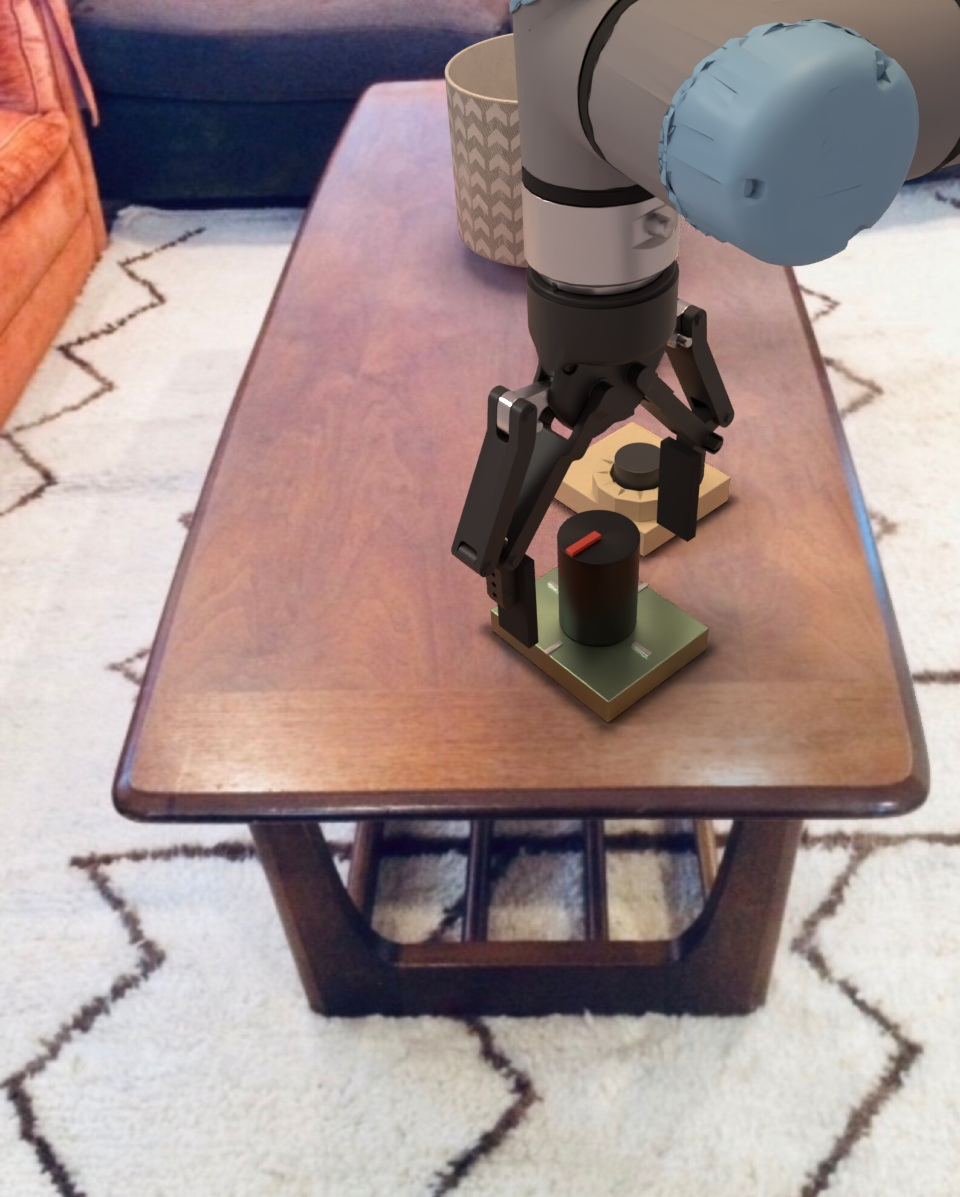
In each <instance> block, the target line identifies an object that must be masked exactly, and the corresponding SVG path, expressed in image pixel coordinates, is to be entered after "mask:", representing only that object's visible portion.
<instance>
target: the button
mask: <svg viewBox="0 0 960 1197" xmlns="http://www.w3.org/2000/svg"><path fill="white" fill-rule="evenodd" d="M659 461H660V448H659V447H657V446H655V445H653V444H649V443H642V442H638V443H631V444H627V445H625V446H623V447H621V448H620V449H619V450H618V451H617V452H616V454H615V457H614V479H615V481H616V483H617V484H618V485H619V486H621V487H622V488H624V489H628V490H634V491H646V490H652V489H656V488H657V487H658V482H659Z"/></svg>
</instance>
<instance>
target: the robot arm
mask: <svg viewBox="0 0 960 1197" xmlns="http://www.w3.org/2000/svg"><path fill="white" fill-rule="evenodd" d="M508 5H509V6H508V8H509V9H508V10H509V14H510V15H512V33H514V49H515V66H516V82H517V99H518V115H519V132H520V148H521V161H522V162H521V164H522V180H521V182H522V209H523V237H524V257H525V259H526V260H527V262H528V264H529V266H528V268H526V270H525V289H526V309H527V310H526V311H527V329H528V332H529V336H530V338H531V340H532V343H533V346H534V349H535V351H536V354H537V358H538V361H537V368H536V371H535V374H534V377H533V380H532V383H530V384H529V385H526V386H524V387H520V388H518V389H516V390H514V391H513V390H510V389H509V388H507V387H506V386H504V385H502V384H500V385H495V386H494V387H493V388H492V389H491V390H490V391H489V394H488V396H487V409H486V410H487V412H486V414H487V415H486V416H487V417H486V423H487V424H486V431H485V435H484V437H483V442H482V445H481V448H480V452H479V454H478V458H477V461H476V465H475V467H474V471H473V475H472V478H471V481H470V484H469V488H468V491H467V494H466V498H465V500H464V505H463V508H462V511H461V515H460V517H459V521H458V524H457V528H456V531H455V534H454V538H453V540H452V544H451V548H450V552H451V555H452V556H454V557H455V558H456V559H458V560H459V561H460V562H461V563H463V564H464V565H465V566H467V567H468V568H469V569H470V570H472V572H474V573H476V574H477V575H479V576H480V577H481V578H485V583H486V594H487V596H488V597H489V598H490V599H491V600H492V601H493V602H495V603H496V606H497V607H498V618H499V626H500V627H502V628H503V629H504V630H505V631H507V632H508V633H509V634H511V635H512V636H513V637H514V638H516V639H517V640H518V641H520V642H521V643H522V644H523V645H525V646H526V647H527V648H529V649H530V648H531V647H533V646H534V645H536V644H537V643H539V641H538V621H537V602H536V582H535V580H536V566H535V559H534V558H532V557H531V556H529V555H528V554H526V553H527V551H528V549H529V547H530V545H531V543H532V542H533V539H534V537H535V535H536V533H537V532H538V530H539V527H540V526H541V524H542V522H543V520H544V518H545V516H546V515H547V512H548V510H549V508H550V506H551V504H552V502H553V501H554V499H555V498H554V497H555V495H556V493H557V491H558V489H559V487H560V485H561V483H562V481H563V479H564V477H565V475H566V473H567V471H568V469H569V467H570V465H571V464H572V462H573V461H576V460H580V459H581V458H583V456H584V455H585V453H586V451H587V449H588V447H590V446H591V443H592V442H593V440H594V439H595V438H597V437H598V436H600V435H602V434H604V433H605V432H606V431H607V430H608V429H610V427H612V426H613V425H614V424H617V423H620V422H624V421H627V419H630V418H631V417H633V416H635V410H636V409H637V408H638V407H639V406H641V407H643V409H644V410H646V411H647V412H648V413H649V414H650V415H651V416H653V417H654V418H655V419H656V420H657V421H659V423H660V424H662V425H663V426H664V427H665V429H667V430H668V431H669V432H670V433H672V434H674V435H675V436H676V437H675V438H673V437H672V436H670V435H669V436H666V437H664V438H662V439H663V440H662V441H660V461H659V482H658V502H657V522H656V523H657V524H659V525H661V526H662V527H664V528H666V529H667V530H669V531H670V532H672V533H674V534H675V536H677V537H679V538H680V539H682V540H683V541H685V542H687V543H688V542H690V541H691V540H693V539H694V538H696V535H697V523H698V521H697V512H698V500H699V488H700V484H701V483H702V480H703V477H704V468H705V464H704V463H706V457H707V456H706V455H707V453H709V454H711V455H716V454H717V453H719V452H720V450H721V449H722V447H723V445H724V442H725V441H724V440H725V439H724V437H723V436H722V435H720V434H718V433H716V432H715V431H716V430H717V429H718V428H719V427H721V428H723V429H726V428H728V427H729V426H730V425H731V424H732V422H733V420H734V419H735V414H736V413H735V410H734V407H733V405H732V401H731V399H730V397H729V395H728V391H727V389H726V386H725V383H724V381H723V378H722V375H721V373H720V371H719V368H718V366H717V363H716V360H715V358H714V356H713V352H712V349H711V347H710V345H709V342H708V313H707V310H705V309H703V308H701V307H699V306H697V305H694V304H692V303H690V302H688V301H687V300H686V301H685V300H683V299H681V298H679V285H680V284H679V283H680V266H679V263H678V262H677V260H676V259H677V257H678V255H679V254H680V238H681V221H682V218H681V217H683V218H684V221H686V222H687V223H688V224H689V225H690V226H691V227H693V228H694V229H695V230H697V231H699V232H700V233H701V234H702V235H704V236H705V237H710V236H711V237H712V238H713V239H715V240H717V241H718V242H719V243H721V244H722V243H727V244H730V245H732V246H734V247H735V248H737V249H739V250H741V251H742V252H744V253H746V254H748V255H750V256H751V257H753V258H755V259H757V260H758V261H761V262H763V263H766V264H768V265H773V266H774V265H775V266H779V267H787V268H789V267H790V268H791V267H804V266H810V265H813V264H816V263H817V264H818V263H820V262H823V261H825V260H828V259H830V258H832V257H834V256H836V255H838V254H839V253H841V252H843V251H845V250H846V248H847V247H848V244H849V241H851V240H852V239H853V238H854V237H856V236H857V235H858V234H859V233H860V232H862V231H864V230H868V229H869V230H870V229H871V228H873V226H875V225H876V224H877V223H878V222H879V221H880V219H882V217H883V216H884V214H885V213H886V212H887V210H889V208H890V207H891V205H892V204H893V202H894V201H895V198H896V197H897V196H898V194H899V192H900V191H901V189H902V187H903V185H904V183H905V182H906V181H910V180H914V179H918V178H919V177H922V176H925V175H929V174H931V173H935V172H937V171H939V170H940V169H944V168H947V167H950V166H954V165H958V164H960V0H510V1H509V4H508ZM665 353H666V356H667V358H668V359H669V362H670V365H671V367H672V370H673V371H674V374H675V376H676V378H677V380H678V383H679V386H680V388H681V390H682V392H683V394H684V397H685V399H686V401H687V404H688V406H689V407H688V406H687V405H686V404H685V403H684V402H683V401H682V400H681V399H680V398H678V397H677V395H675V394H674V393H675V391H674V390H673V389H672V387H670V386H669V385H668V384H667V383H666V382H665V381H663V379H662V378H661V377H660V376H659V374H658V373H657V372H656V371H657V369H658V367H659V365H660V364H661V361H662V359H663V357H664V354H665ZM555 419H556V420H557V422H559V423H560V424H561V426H563V427H565V428H566V429H569V430H570V431H572V432H571V434H570V436H569V437H568V438H566V437H565V436H563V435H561V434H560V433H558V432H556V431H555V430H553V429H552V424H553V422H554V420H555Z"/></svg>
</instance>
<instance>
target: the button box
mask: <svg viewBox="0 0 960 1197" xmlns="http://www.w3.org/2000/svg"><path fill="white" fill-rule="evenodd" d="M663 439H664V438H662V437H660V436H659V435H657V434H655V433H653V432H651V431H649V430H648V429H646V428H644V427H642V426H641V425H639V424H638V423H636V422H633V421H631V422H629V423H627V424H626V425H624V426H623V427H622V426H621V427H620V428H618V429H617V430H616V431H614V432H612V433H610V434H608V435H607V436H605V437H603V438H602V439H600V440H598V441H597V442H595V443H593V444H592V445H589V447H588V449H587V451H586V453H585V455H584V456H583V458H581V459H580V460H576V461H573V462H572V464H571V465H570V467H569V469H568V471H567V473H566V475H565V477H564V479H563V481H562V483H561V485H560V487H559V489H558V491H557V493H556V495H555V497H554V498H553V499H556V500H557V501H558V502H560V503H561V504H563V505H565V506H566V507H568V508H569V509H571V510H572V511H574V512H575V513H576V514H578V513H581V512H584V511H589V510H608V511H613V512H617V513H620V514H622V515H624V516H626V517H628V518H629V519H631V520H632V521H633V522H634V523H635V524H636V526H637V527H638V529H639V532H640V556H642V557H645V556H647V555H648V554H650V553H652V552H653V551H654V550H656V549H657V548H659V547H660V546H662V545H663V544H665V543H666V542H668V541H669V540H671V539H672V538H674V537H675V536H676V535H675V534H674V533H672V532H670V531H669V530H667V529H666V528H664V527H662V526H661V525H659V524H657V523H656V522H657V502H658V487H657V488H656V489H652V490H646V491H634V490H628V489H624V488H622V487H621V486H619V485H618V484H617V483H616V481H615V479H614V457H615V454H616V452H617V451H618V450H619V449H620V448H621V447H623V446H625V445H627V444H631V443H638V442H642V443H649V444H653V445H655V446H657V447H659V448H660V441H662V440H663ZM704 464H705V468H704V477H703V480H702V483H701V484H700V488H699V500H698V512H697V522H698V521H699V520H701V519H702V518H704V517H705V516H707V515H708V514H710V513H711V512H713V511H714V510H716V509H717V508H719V507H720V506H722V505H723V504H725V503H726V502H727V501H729V495H730V494H729V493H730V485H731V476H729V475H727V474H725V473H723V472H722V471H720V470H718V469H717V468H715V467H714V466H711V465H709V464H708V463H706V462H705V463H704Z"/></svg>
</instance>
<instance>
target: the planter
mask: <svg viewBox="0 0 960 1197" xmlns="http://www.w3.org/2000/svg"><path fill="white" fill-rule="evenodd" d="M444 81H445V92H446V105H447V114H448V115H447V116H448V126H449V128H448V129H449V138H450V139H449V140H450V149H451V159H452V160H451V161H452V173H453V183H454V184H453V185H454V196H455V207H456V220H457V231H458V236H459V237H460V239H461V242H462V243H463V244H464V245H465V246H466V247H467V248H468V249H469V250H470V251H472V252H473V253H475V254H476V255H478V256H480V257H482V258H484V259H486V260H489V261H492V262H495V263H498V264H503V265H506V266H510V267H511V266H512V267H518V268H523V269H527V268H528V266H529V264H528V262H527V260H526V259H525V257H524V237H523V209H522V182H521V180H522V164H521V162H522V161H521V148H520V132H519V115H518V99H517V82H516V66H515V49H514V33H513V32H512V33H507V34H502V35H499V36H495V37H491V38H487V39H485V40H482V41H478V42H476V43H474V44H472V45H469V46H468V47H465V48H463V49H462V50H460V51H459V52H457V53H456V54H454V56H452V57H451V59H449V61H448V62H447V63H446V65H445V69H444Z"/></svg>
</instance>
